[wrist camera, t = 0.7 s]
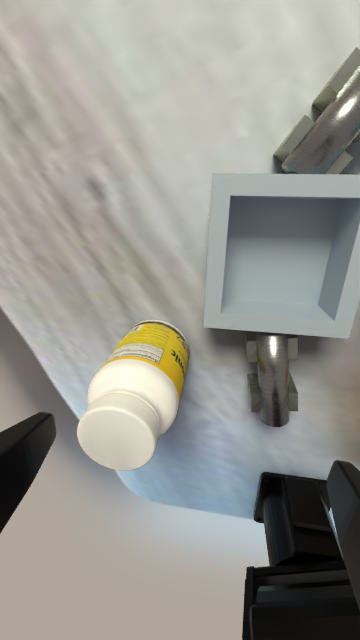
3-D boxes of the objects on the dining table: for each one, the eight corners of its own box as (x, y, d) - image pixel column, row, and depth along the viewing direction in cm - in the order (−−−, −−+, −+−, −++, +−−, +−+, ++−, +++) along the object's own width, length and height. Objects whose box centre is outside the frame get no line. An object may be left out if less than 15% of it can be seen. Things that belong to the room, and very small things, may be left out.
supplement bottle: (186, 381, 23) (163, 491, 14) (124, 370, 24) (64, 470, 15) (194, 322, 21) (173, 407, 12) (126, 312, 22) (57, 386, 13)
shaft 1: (289, 395, 22) (301, 426, 19) (249, 396, 23) (253, 427, 20) (288, 314, 20) (301, 334, 16) (243, 318, 20) (247, 338, 17)
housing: (327, 316, 19) (348, 338, 16) (206, 308, 20) (203, 327, 17) (359, 181, 16) (395, 174, 13) (214, 180, 17) (212, 173, 14)
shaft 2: (305, 198, 17) (325, 196, 14) (266, 164, 16) (276, 153, 13) (385, 106, 15) (430, 77, 12) (341, 64, 14) (375, 23, 11)
